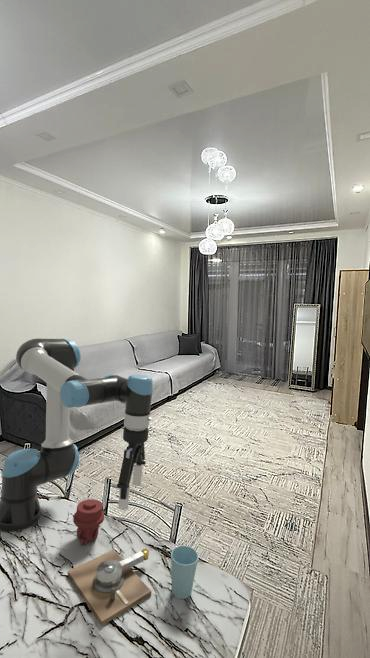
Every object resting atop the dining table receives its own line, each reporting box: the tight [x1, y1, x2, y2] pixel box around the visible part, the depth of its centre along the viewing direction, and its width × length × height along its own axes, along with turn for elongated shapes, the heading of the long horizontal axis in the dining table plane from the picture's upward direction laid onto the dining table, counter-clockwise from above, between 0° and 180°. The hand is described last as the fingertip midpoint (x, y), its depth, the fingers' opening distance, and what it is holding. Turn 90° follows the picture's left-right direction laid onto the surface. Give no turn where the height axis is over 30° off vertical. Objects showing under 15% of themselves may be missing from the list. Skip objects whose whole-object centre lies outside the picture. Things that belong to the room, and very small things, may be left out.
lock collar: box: [96, 548, 150, 588], centre depth 95 cm, size 7×17×3 cm, turn 133°
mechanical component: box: [72, 498, 105, 546], centre depth 110 cm, size 12×10×10 cm
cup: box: [170, 545, 199, 600], centre depth 92 cm, size 8×8×10 cm
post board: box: [67, 549, 152, 627], centre depth 92 cm, size 20×15×4 cm
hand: (130, 496), depth 99 cm, fingers open, 13 cm apart
